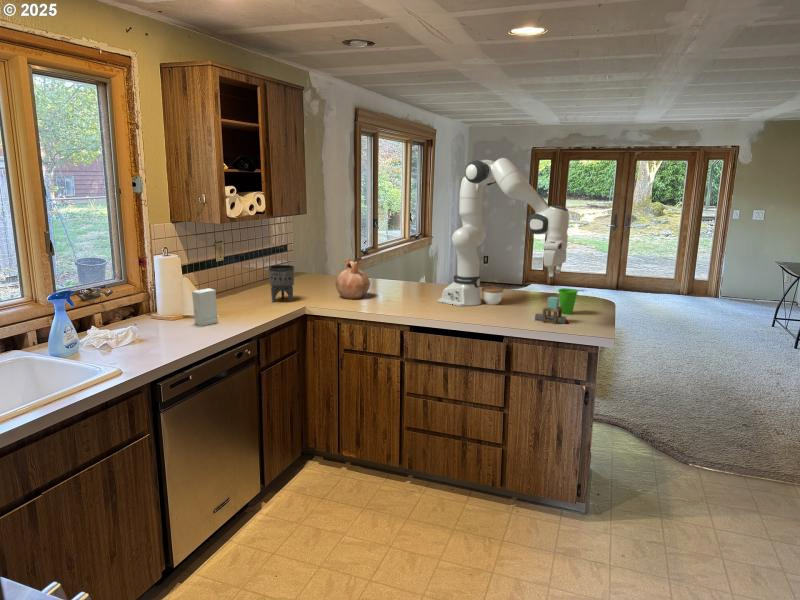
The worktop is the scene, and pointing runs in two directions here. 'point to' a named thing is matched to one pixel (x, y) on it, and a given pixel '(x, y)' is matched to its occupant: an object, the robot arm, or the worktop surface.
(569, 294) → the cup
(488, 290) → the lidded jar
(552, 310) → the cover
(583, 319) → the worktop surface
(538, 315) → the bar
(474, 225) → the robot arm
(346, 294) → the jug
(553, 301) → the block
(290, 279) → the planter
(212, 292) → the skincare box
